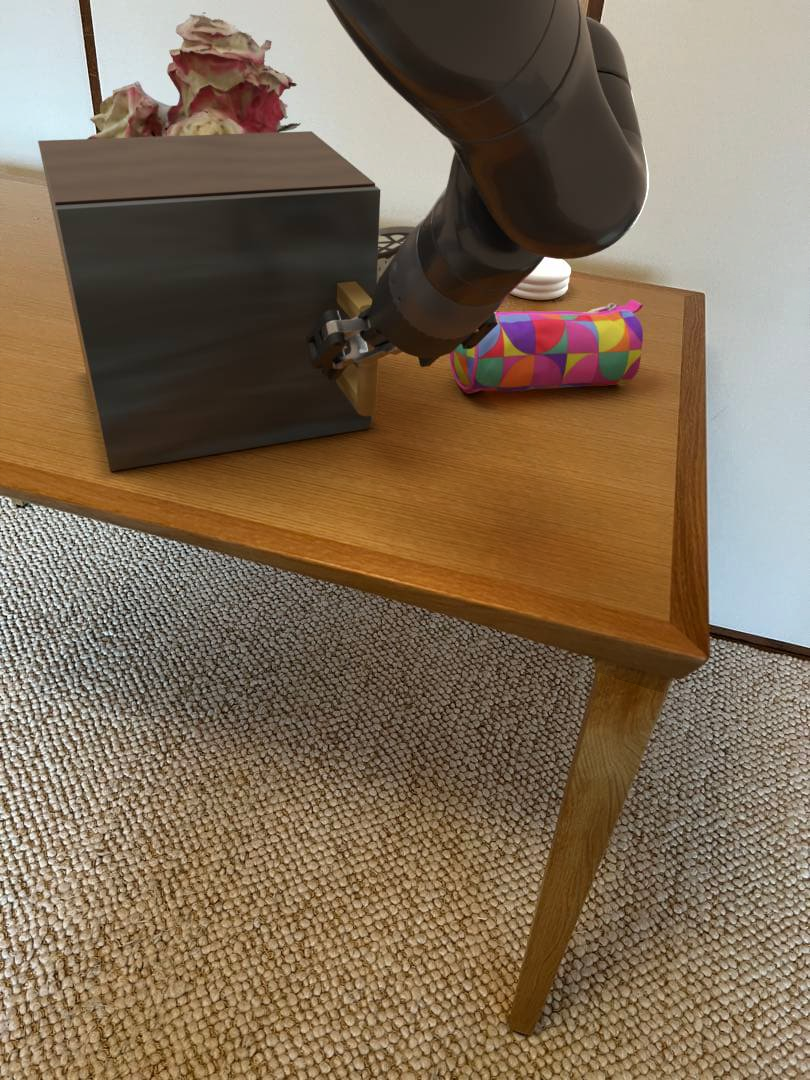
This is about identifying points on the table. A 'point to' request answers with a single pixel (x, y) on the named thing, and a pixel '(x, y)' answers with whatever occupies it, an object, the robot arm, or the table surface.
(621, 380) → the pencil case
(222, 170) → the cupboard
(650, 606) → the table surface
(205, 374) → the door
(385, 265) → the food container
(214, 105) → the rose bouquet
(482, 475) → the table surface
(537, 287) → the white stacked discs
